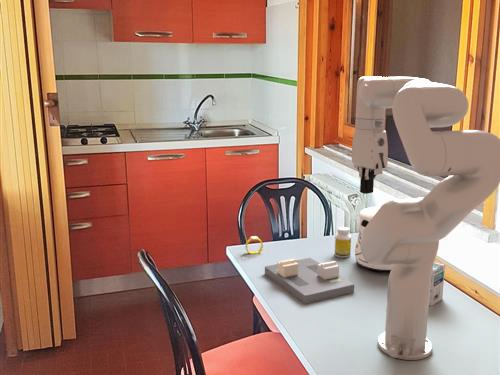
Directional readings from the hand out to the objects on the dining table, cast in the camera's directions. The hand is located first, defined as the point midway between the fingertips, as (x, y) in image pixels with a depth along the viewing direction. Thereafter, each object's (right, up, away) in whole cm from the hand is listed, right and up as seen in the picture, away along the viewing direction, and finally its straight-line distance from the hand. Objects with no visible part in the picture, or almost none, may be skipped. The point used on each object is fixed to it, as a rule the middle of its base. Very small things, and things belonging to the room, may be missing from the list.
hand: (366, 192), depth 151 cm
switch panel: (-14, -28, +21) cm, 37 cm away
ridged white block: (-8, -26, +19) cm, 33 cm away
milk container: (+12, -25, +35) cm, 44 cm away
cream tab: (-20, -25, +21) cm, 38 cm away
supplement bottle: (+1, -22, +44) cm, 49 cm away
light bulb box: (+18, -31, +11) cm, 37 cm away
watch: (-30, -22, +46) cm, 59 cm away
